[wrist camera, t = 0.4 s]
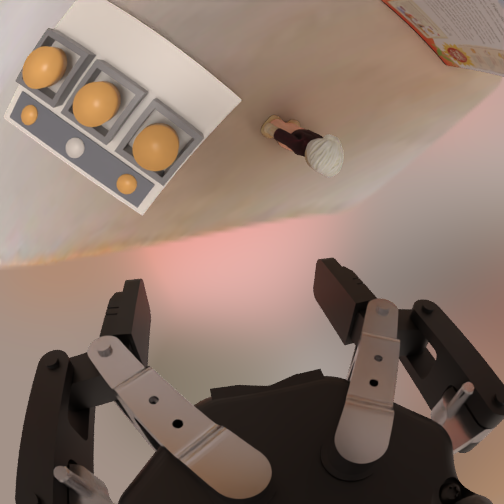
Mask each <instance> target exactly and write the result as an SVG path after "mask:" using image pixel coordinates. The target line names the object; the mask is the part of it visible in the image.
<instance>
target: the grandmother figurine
mask: <svg viewBox="0 0 504 504" xmlns="http://www.w3.org/2000/svg"><path fill="white" fill-rule="evenodd" d="M261 132H262V134H263V135H264V136H265V137H267V138H275V139H276V140H277V141H278V143H279V145H280V146H282V147H283V148H285V149H287V150H290V151H293V152H294V153H295V154H297V155H301V156H304V157H305V160H306V162H307V164H308V165H309V166H310V167H311V168H313V169H314V170H315V171H317V172H318V173H320V174H322V175H324V176H326V177H333V176H335V175H336V174H337V173H338V172H339V171H340V169H341V167H342V164H343V160H344V151H343V148H342V146H341V142H340V140H339V139H338V138H337V137H336V136H333V135H331V134H327V135H325V136H324V137H322V136H320V135H319V134H316V133H314V132H312V131H310V130H306V129H303V128H300V124H299V122H298V121H296V120H289V121H288V122H287V123H285V122H284V121H282V120H281V118H280V117H278V116H276V115H272V116H270V117H269V118H268V120H267V121H266V122H265V123H264V125H263V126H262V128H261Z"/></svg>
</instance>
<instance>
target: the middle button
mask: <svg viewBox="0 0 504 504" xmlns="http://www.w3.org/2000/svg"><path fill="white" fill-rule="evenodd" d="M120 104H121V96H120V92H119V90H118V89H117V87H116V86H115V85H113V84H112V83H110V82H107V81H99V82H92V83H88V84H86V85H85V86H83V87H82V88H81V89H80V90H79V91H78V92H77V94H76V95H75V98H74V101H73V113H74V116H75V118H76V119H77V121H78V122H79V123H80V124H82V125H84V126H87V127H97V126H100V125H102V124H103V123H105V122H107V121H109V120H110V119H112V118H113V117H114V116H115V115H116V113H117V112H118V110H119V107H120Z"/></svg>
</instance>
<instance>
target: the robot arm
mask: <svg viewBox="0 0 504 504" xmlns="http://www.w3.org/2000/svg"><path fill="white" fill-rule="evenodd" d="M313 289H314V290H313V291H314V296H315V299H316V301H317V302H318V304H319V305H320V307H321V308H322V310H323V312H324V313H325V315H326V316H327V318H328V319H329V321H330V323H331V324H332V326H333V327H334V329H335V330H336V332H337V334H338V335H339V337H340V338H341V340H342V342H343V343H344V345H347V344H351V343H355V345H356V346H355V349H354V352H353V356H352V360H351V364H350V367H349V371H348V374H347V378H346V379H342V378H338V377H331V376H323V374H322V371H321V369H318V370H314V371H309V372H305V373H300V374H296V375H293V376H291V377H289V378H286V379H284V380H282V381H280V382H277V383H275V384H273V385H270V386H250V385H235V386H228V387H221V388H213V389H210V391H211V397H209V398H206V399H204V400H202V401H200V402H199V403H197V404H195V405H192V404H191V403H190V402H189V401H187V400H186V399H185V398H184V397H183V396H182V395H181V394H180V393H179V392H178V391H176V390H175V389H174V388H173V387H172V386H171V385H170V384H169V383H168V382H167V381H166V380H165V379H164V378H162V377H161V376H160V375H159V374H158V373H157V372H156V371H155V370H154V369H153V368H152V367H150V366H148V349H149V335H150V323H151V314H150V307H149V303H148V299H147V296H146V291H145V287H144V283H143V280H142V279H134V280H126V281H125V284H124V288H123V292H116V293H115V294H114V295H113V296H112V298H111V299H110V301H109V304H108V307H107V308H108V309H107V311H106V316H105V318H104V322H103V325H102V329H101V333H100V337H99V338H97V339H95V340H94V341H93V342H92V343H91V344H90V345H89V347H88V351H87V352H86V353H84V354H81V355H78V356H74V357H71V358H69V357H68V355H67V354H66V353H65V352H64V351H61V350H53V351H50V352H48V353H46V354H45V355H44V356H43V357H42V358H41V359H40V361H39V363H38V367H37V370H36V374H35V377H34V381H33V385H32V389H31V393H30V397H29V401H28V406H27V410H26V415H25V420H24V425H23V431H22V437H21V443H20V450H19V458H18V467H17V477H16V495H15V500H16V504H114V503H113V502H112V501H111V499H110V497H109V493H108V489H107V487H106V485H105V484H104V483H103V482H102V481H101V480H100V479H98V477H96V476H95V475H94V470H93V469H94V468H93V466H94V465H93V451H94V420H95V406H98V405H102V404H105V403H108V402H112V401H114V402H115V403H116V405H117V406H118V407H119V408H120V410H121V411H122V412H123V414H124V415H125V416H126V417H127V418H128V420H129V421H130V422H131V423H132V424H133V425H134V427H135V428H136V429H137V430H138V431H139V433H140V434H141V435H142V437H143V438H144V439H145V440H146V441H147V443H148V444H149V445H150V446H151V447H152V448H153V449H154V450H155V451H156V452H155V453H154V455H153V456H152V457H151V458H150V460H149V461H148V462H147V464H146V465H145V466H144V467H143V469H142V470H141V471H140V473H139V474H138V475H137V476H136V478H135V479H134V480H133V482H132V483H131V484H130V485H129V486H128V488H127V489H126V490H125V492H124V493H123V494H122V496H121V497H120V500H119V503H118V504H493V503H492V502H491V501H490V500H489V499H488V498H486V497H484V496H481V495H478V494H475V493H473V492H471V491H470V490H468V489H467V488H465V487H464V486H463V485H462V484H461V483H460V481H459V480H458V478H457V475H456V471H455V466H454V460H453V454H455V453H457V452H460V453H466V452H468V451H470V450H472V449H473V448H474V447H475V446H476V445H477V444H478V443H479V442H480V441H482V440H483V439H484V438H485V437H486V436H487V435H488V434H489V433H490V432H491V431H492V430H493V429H494V428H495V427H496V426H497V425H498V424H499V423H500V422H501V421H502V420H503V419H504V384H503V383H502V382H501V380H500V379H499V378H498V377H497V375H496V374H495V373H494V371H493V370H492V369H491V368H490V366H489V365H488V364H487V362H486V361H485V360H484V359H483V357H482V356H481V355H480V354H479V353H478V351H477V350H476V349H475V348H474V346H473V345H472V344H471V343H470V342H469V340H468V339H467V338H466V337H465V336H464V335H463V333H462V332H461V331H460V330H459V329H458V328H457V326H455V324H454V323H453V322H452V321H451V320H450V319H449V318H448V316H447V315H446V314H445V313H444V312H443V311H442V310H441V309H440V308H439V307H438V306H437V305H436V304H435V303H433V302H431V301H429V300H418V301H416V302H415V303H414V305H413V308H412V310H405V309H402V310H401V309H398V308H397V306H396V305H395V304H394V303H392V302H390V301H389V300H386V299H377V298H376V297H375V295H374V294H373V293H372V292H371V291H370V290H369V289H368V287H367V286H366V285H365V284H363V282H362V281H361V280H360V279H359V278H358V276H357V275H356V274H355V273H354V272H353V271H352V270H350V269H348V268H346V267H344V266H343V267H342V266H341V265H340V264H339V263H338V262H337V261H336V260H335V259H334V258H326V259H319V260H318V261H317V263H316V271H315V279H314V287H313ZM428 342H429V343H430V344H431V345H432V347H433V348H434V349H435V351H436V354H437V358H436V360H435V359H434V357H433V356H432V355H431V354H430V352H429V351H428V349H427V348H426V346H427V344H428ZM399 359H400V361H401V362H402V364H403V366H404V367H405V369H406V370H407V372H408V373H409V375H410V377H411V378H412V380H413V381H414V383H415V385H416V386H417V388H418V389H419V391H420V393H421V394H422V396H423V398H424V399H425V401H426V402H427V404H428V406H429V408H430V409H431V411H432V412H431V419H429V418H427V417H424V416H422V415H420V414H418V413H416V412H413V411H411V410H409V409H406V408H405V407H402V406H400V405H398V404H396V403H394V402H393V401H394V395H395V387H396V380H397V371H398V362H399Z"/></svg>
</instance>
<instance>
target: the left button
mask: <svg viewBox="0 0 504 504" xmlns="http://www.w3.org/2000/svg"><path fill="white" fill-rule="evenodd" d="M66 68H67V56H66V54H65V52H64V51H63V50H62V49H60V48H58V47H48V46H43V47H39V48H37V49H35V50H34V51H33V52H32V53H31V54H30V55H29V56H28V57H27V59H26V61H25V63H24V66H23V71H22V75H23V80H24V82H25V84H26V85H27V86H28V87H30V88H32V89H40V88H45V87H50V86H53V85H54V84H56V83H57V82H58V81H59V80H60V79H61V78H62V77H63V75H64V73H65V71H66Z"/></svg>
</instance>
